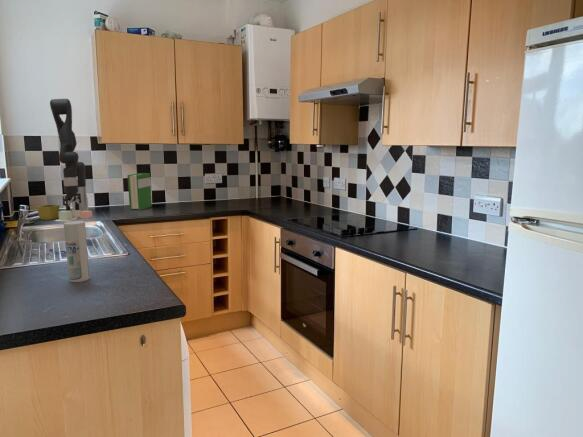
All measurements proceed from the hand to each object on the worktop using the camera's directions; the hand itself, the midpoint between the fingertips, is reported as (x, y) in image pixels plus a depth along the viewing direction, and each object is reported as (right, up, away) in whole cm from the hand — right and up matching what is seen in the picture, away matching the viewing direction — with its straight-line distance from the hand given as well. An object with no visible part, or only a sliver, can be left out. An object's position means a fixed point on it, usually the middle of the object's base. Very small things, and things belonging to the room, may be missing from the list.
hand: (73, 211), depth 269 cm
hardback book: (+27, +3, +43) cm, 51 cm away
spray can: (+60, -26, -117) cm, 134 cm away
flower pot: (-11, -6, -5) cm, 14 cm away
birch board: (-1, -6, -7) cm, 9 cm away
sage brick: (-1, -5, -7) cm, 9 cm away
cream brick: (0, -5, +2) cm, 5 cm away
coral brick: (+8, -5, 0) cm, 10 cm away
